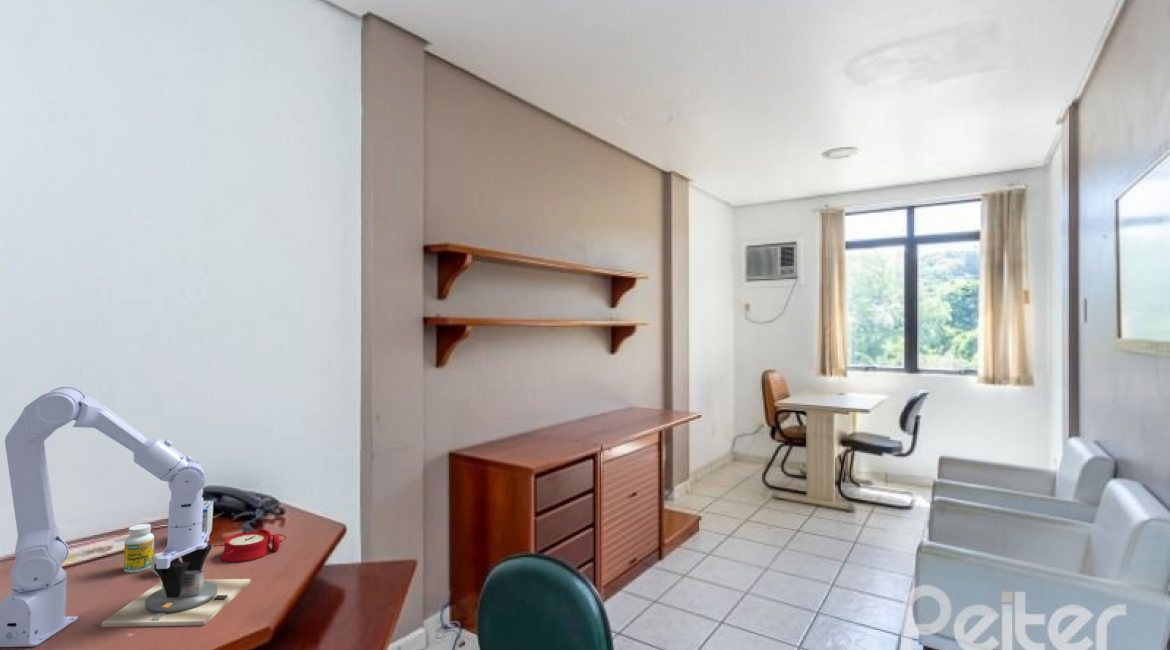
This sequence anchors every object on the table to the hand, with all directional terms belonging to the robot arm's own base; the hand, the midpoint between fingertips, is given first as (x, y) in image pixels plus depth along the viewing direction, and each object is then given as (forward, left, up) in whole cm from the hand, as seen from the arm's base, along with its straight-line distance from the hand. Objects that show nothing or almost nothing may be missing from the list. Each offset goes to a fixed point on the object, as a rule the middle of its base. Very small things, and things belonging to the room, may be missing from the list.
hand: (182, 589), depth 115 cm
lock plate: (0, 0, -3) cm, 3 cm away
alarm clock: (+26, -2, -3) cm, 27 cm away
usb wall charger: (+14, +11, -3) cm, 18 cm away
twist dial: (0, 0, -3) cm, 3 cm away
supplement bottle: (+17, +19, -3) cm, 26 cm away
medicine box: (+36, +16, -3) cm, 40 cm away
